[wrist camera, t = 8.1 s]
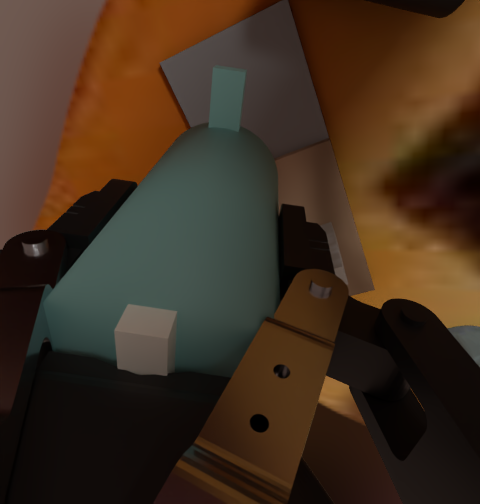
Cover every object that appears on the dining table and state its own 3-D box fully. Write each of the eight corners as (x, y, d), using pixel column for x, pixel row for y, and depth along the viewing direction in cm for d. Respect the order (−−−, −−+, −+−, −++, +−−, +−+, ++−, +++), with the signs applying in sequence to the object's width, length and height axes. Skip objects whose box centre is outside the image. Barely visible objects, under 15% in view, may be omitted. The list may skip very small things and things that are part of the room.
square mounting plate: (328, 135, 30) (342, 171, 23) (372, 282, 37) (392, 341, 31) (160, 200, 34) (131, 245, 28) (230, 318, 42) (221, 377, 35)
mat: (286, -2, 25) (287, -3, 24) (328, 135, 30) (329, 137, 29) (161, 62, 28) (159, 63, 27) (217, 178, 33) (216, 180, 32)
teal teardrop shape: (164, 57, 13) (-80, 142, 4) (299, 77, 13) (350, 205, 4) (162, 257, 18) (47, 500, 9) (261, 271, 18) (246, 531, 9)
